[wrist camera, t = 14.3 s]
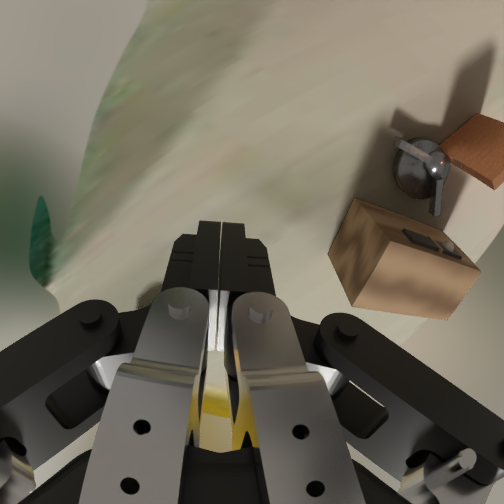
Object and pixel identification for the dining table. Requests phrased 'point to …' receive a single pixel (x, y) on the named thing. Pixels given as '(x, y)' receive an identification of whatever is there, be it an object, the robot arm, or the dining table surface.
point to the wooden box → (399, 264)
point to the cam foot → (451, 159)
